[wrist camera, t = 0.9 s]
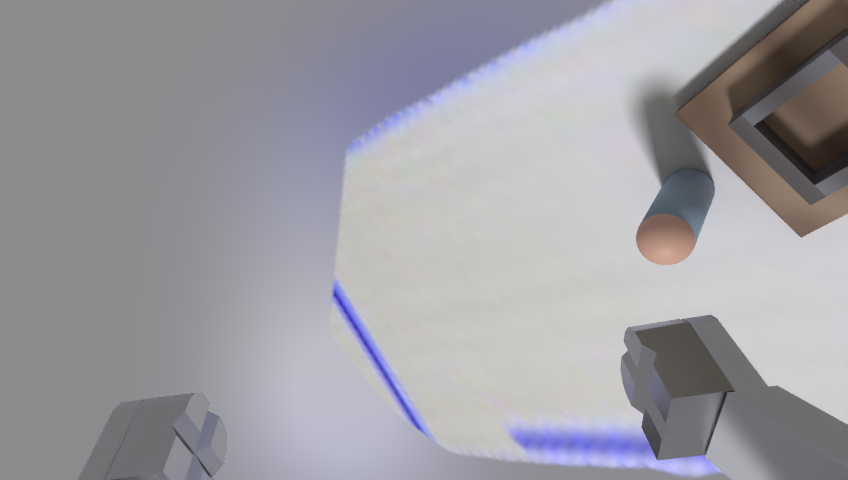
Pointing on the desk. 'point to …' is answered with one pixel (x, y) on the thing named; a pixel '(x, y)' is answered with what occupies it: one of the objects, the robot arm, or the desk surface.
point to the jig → (786, 116)
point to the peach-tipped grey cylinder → (675, 217)
